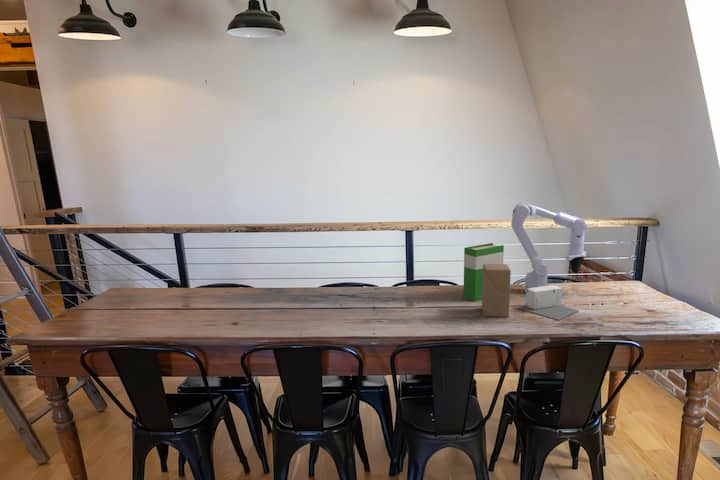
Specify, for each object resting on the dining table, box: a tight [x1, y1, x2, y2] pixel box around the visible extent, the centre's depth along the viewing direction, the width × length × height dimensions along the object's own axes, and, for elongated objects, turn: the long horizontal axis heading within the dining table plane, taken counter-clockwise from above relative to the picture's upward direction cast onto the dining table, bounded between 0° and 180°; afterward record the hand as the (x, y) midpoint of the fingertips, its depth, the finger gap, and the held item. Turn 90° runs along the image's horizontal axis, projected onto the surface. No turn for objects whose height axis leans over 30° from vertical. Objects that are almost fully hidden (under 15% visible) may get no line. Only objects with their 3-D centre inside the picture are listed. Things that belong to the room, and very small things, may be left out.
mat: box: [518, 304, 580, 322], centre depth 184 cm, size 18×16×1 cm
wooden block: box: [481, 263, 512, 318], centre depth 181 cm, size 10×10×20 cm
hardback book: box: [463, 242, 505, 303], centre depth 203 cm, size 18×7×24 cm, turn 120°
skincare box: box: [525, 284, 564, 310], centre depth 188 cm, size 8×6×15 cm
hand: (575, 272), depth 202 cm, fingers closed
